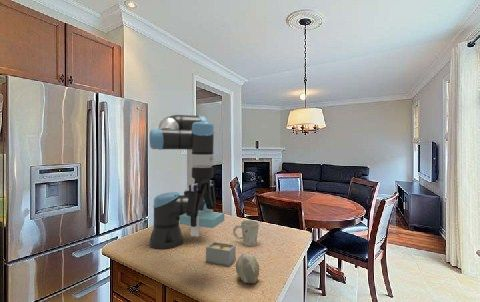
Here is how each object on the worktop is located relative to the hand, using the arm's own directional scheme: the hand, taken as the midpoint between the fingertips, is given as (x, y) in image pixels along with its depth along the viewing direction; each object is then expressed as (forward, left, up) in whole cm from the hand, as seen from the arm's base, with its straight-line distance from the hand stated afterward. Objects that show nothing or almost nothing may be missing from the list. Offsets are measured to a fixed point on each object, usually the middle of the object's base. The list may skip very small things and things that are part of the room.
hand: (202, 231), depth 85 cm
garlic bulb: (+15, +4, -16) cm, 23 cm away
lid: (0, 0, +3) cm, 3 cm away
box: (+1, +14, -16) cm, 21 cm away
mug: (+4, +35, -16) cm, 38 cm away
